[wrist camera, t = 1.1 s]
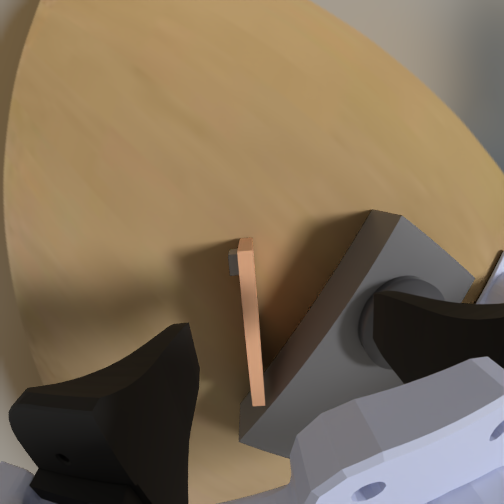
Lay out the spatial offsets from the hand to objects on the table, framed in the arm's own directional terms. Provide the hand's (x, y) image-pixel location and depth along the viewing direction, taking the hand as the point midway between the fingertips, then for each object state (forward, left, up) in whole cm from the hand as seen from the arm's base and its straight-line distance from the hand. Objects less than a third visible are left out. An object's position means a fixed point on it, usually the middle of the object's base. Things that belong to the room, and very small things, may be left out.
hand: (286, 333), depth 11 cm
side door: (0, +3, -9) cm, 10 cm away
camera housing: (-8, +2, -10) cm, 12 cm away
